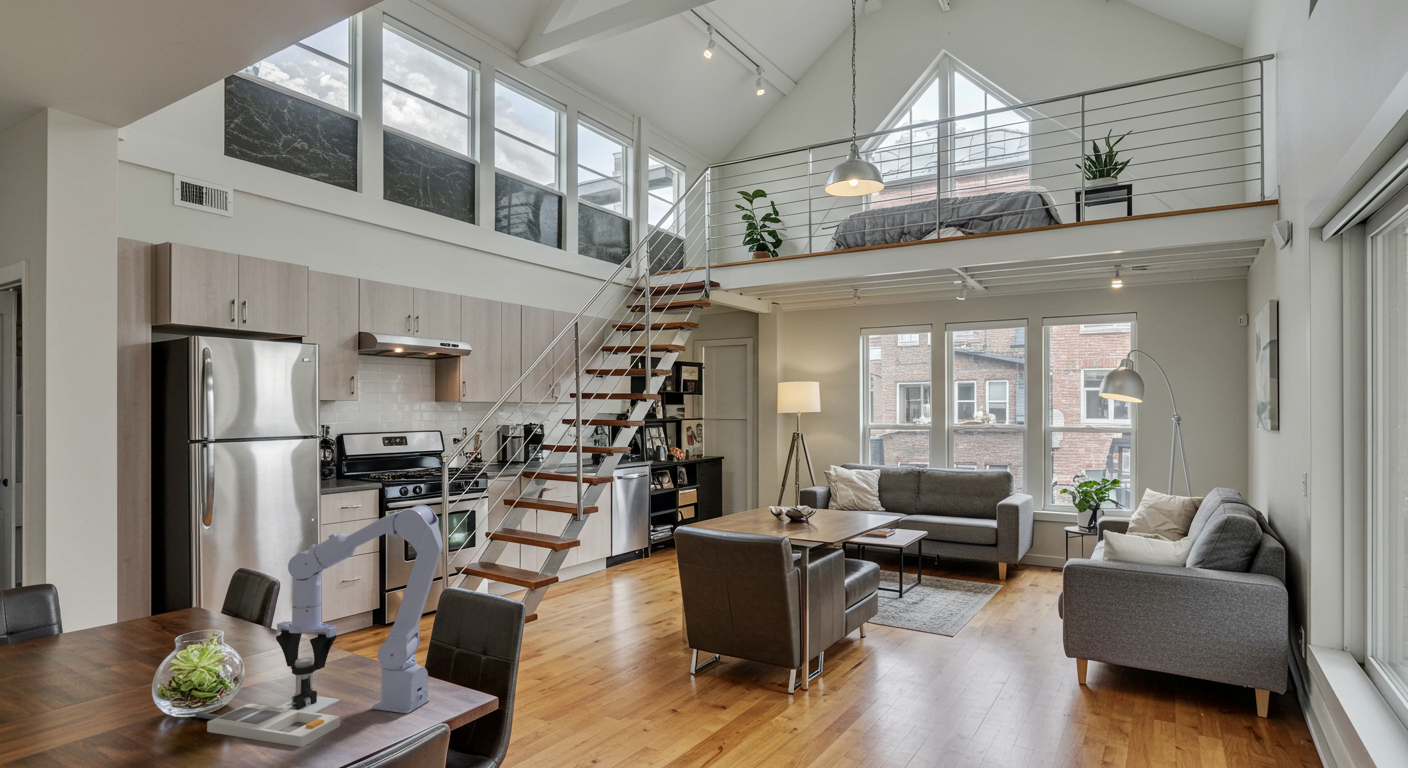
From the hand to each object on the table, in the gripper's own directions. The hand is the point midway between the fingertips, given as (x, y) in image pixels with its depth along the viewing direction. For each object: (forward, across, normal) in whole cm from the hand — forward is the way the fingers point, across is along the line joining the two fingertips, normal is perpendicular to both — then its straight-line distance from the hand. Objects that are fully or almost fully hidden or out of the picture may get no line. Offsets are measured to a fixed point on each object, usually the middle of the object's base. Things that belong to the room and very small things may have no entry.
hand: (305, 666), depth 166 cm
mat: (+9, 0, 0) cm, 9 cm away
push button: (+9, 0, -1) cm, 9 cm away
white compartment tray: (+9, -2, -11) cm, 14 cm away
